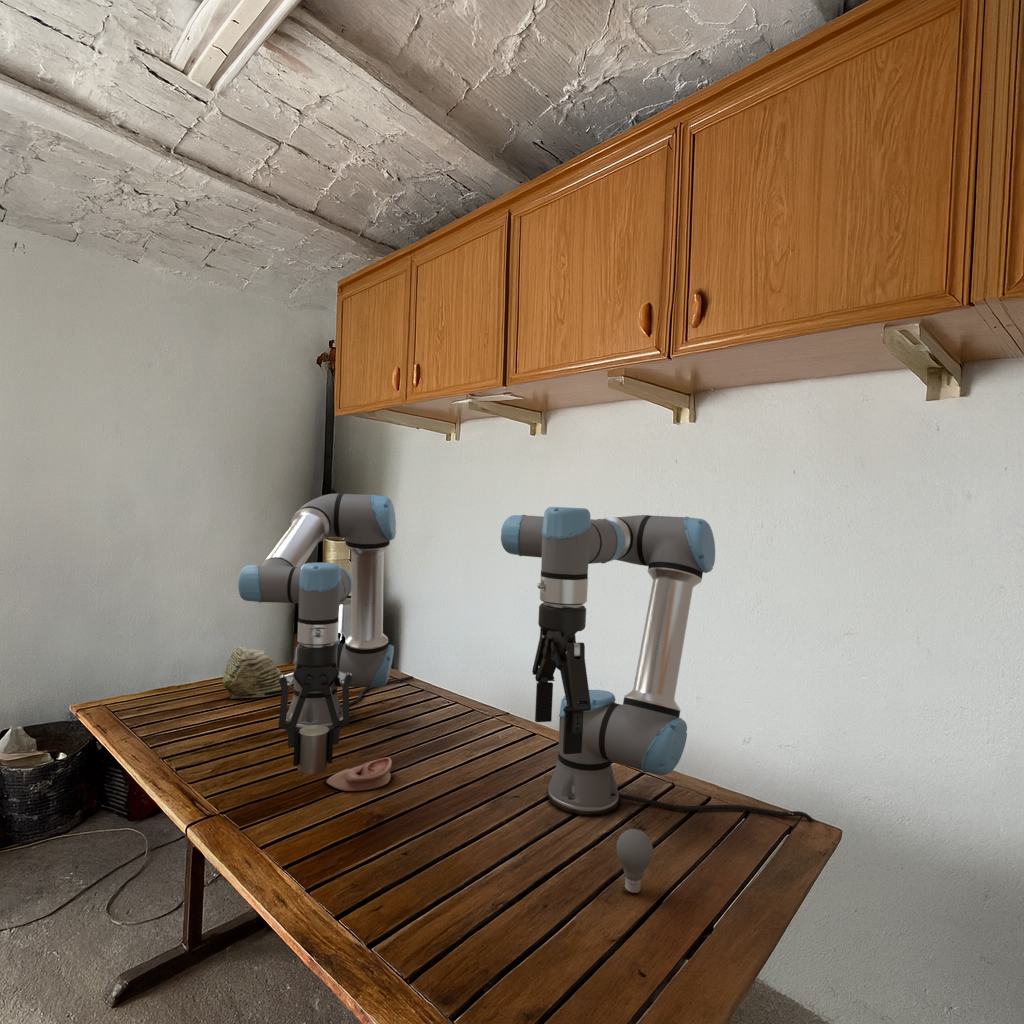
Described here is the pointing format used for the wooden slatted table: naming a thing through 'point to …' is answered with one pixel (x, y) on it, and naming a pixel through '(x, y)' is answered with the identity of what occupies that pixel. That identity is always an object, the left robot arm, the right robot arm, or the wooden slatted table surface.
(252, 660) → the fossil
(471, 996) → the wooden slatted table surface
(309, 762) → the canister
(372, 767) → the anatomical model
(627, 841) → the light bulb
